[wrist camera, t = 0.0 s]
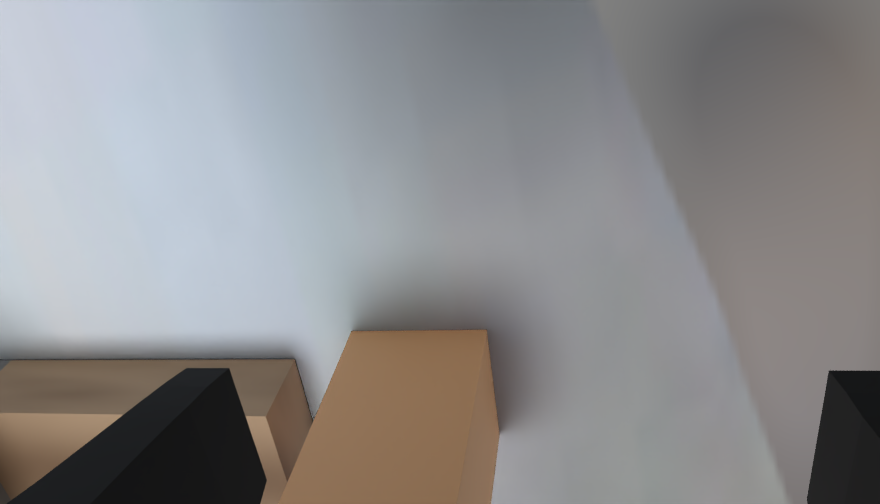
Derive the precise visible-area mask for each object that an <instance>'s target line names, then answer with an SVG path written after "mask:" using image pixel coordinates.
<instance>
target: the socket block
mask: <svg viewBox="0 0 880 504" xmlns="http://www.w3.org/2000/svg"><path fill="white" fill-rule="evenodd" d="M186 368H229V369H230V372H231V375H232V378H233V381H234V384H235V387H236V390H237V393H238V396H239V399H240V402H241V404H242V407H243V410H244V413H245V416H246V419H247V422H248V425H249V428H250V431H251V434H252V437H253V440H254V443H255V446H256V449H257V452H258V455H259V458H260V461H261V464H262V467H263V470H264V473H265V476H266V479H267V482H266V485H265V489H264V492H263V496H262V500H261V503H260V504H278V503H279V501H280V499H281V496H282V494H283V491H284V489H285V487H286V484H287V482H288V480H289V477H290V475H291V473H292V470H293V468H294V466H295V463H296V461H297V459H298V456H299V454H300V451H301V449H302V447H303V444H304V442H305V440H306V437H307V435H308V433H309V430H310V428H311V426H312V423H313V421H312V418H311V414H310V411H309V408H308V404H307V401H306V397H305V394H304V390H303V387H302V383H301V380H300V376H299V373H298V369H297V366H296V362H295V359H220V360H0V504H7V503H8V502H9V501H11V500H12V499H14V498H15V497H16V496H18V495H19V494H20V493H22V492H23V491H25V490H26V489H27V488H29V487H30V486H32V485H33V484H34V483H36V482H37V481H38V480H40V479H41V478H42V477H44V476H45V475H46V474H47V473H49V472H50V471H51V470H53V469H54V468H55V467H56V466H58V465H59V464H60V463H62V462H63V461H64V460H66V459H67V458H68V457H69V456H71V455H72V454H73V453H75V452H76V451H77V450H79V449H80V448H81V447H82V446H84V445H85V444H86V443H88V442H89V441H90V440H91V439H93V438H94V437H95V436H97V435H98V434H99V433H101V432H102V431H103V430H104V429H106V428H107V427H108V426H110V425H111V424H112V423H113V422H115V421H116V420H117V419H118V418H120V417H121V416H122V415H124V414H125V413H126V412H127V411H129V410H130V409H131V408H133V407H134V406H135V405H136V404H138V403H139V402H140V401H142V400H143V399H144V398H146V397H147V396H148V395H150V394H151V393H152V392H154V391H155V390H156V389H158V388H159V387H160V386H162V385H163V384H164V383H166V382H167V381H168V380H170V379H171V378H173V377H174V376H176V375H177V374H178V373H180V372H181V371H183V370H184V369H186Z"/></svg>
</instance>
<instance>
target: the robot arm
mask: <svg viewBox="0 0 880 504" xmlns="http://www.w3.org/2000/svg"><path fill="white" fill-rule="evenodd" d="M266 482H267V479H266V476H265V473H264V470H263V467H262V464H261V461H260V458H259V455H258V452H257V449H256V446H255V443H254V440H253V437H252V434H251V431H250V428H249V425H248V422H247V419H246V416H245V413H244V410H243V407H242V404H241V402H240V399H239V396H238V393H237V390H236V387H235V384H234V381H233V378H232V375H231V372H230V369H229V368H186V369H184V370H183V371H181V372H180V373H178V374H177V375H176V376H174V377H173V378H171V379H170V380H168V381H167V382H166V383H164V384H163V385H162V386H160V387H159V388H158V389H156V390H155V391H154V392H152V393H151V394H150V395H148V396H147V397H146V398H144V399H143V400H142V401H140V402H139V403H138V404H136V405H135V406H134V407H133V408H131V409H130V410H129V411H127V412H126V413H125V414H124V415H122V416H121V417H120V418H118V419H117V420H116V421H115V422H113V423H112V424H111V425H110V426H108V427H107V428H106V429H104V430H103V431H102V432H101V433H99V434H98V435H97V436H95V437H94V438H93V439H91V440H90V441H89V442H88V443H86V444H85V445H84V446H82V447H81V448H80V449H79V450H77V451H76V452H75V453H73V454H72V455H71V456H69V457H68V458H67V459H66V460H64V461H63V462H62V463H60V464H59V465H58V466H56V467H55V468H54V469H53V470H51V471H50V472H49V473H47V474H46V475H45V476H44V477H42V478H41V479H40V480H38V481H37V482H36V483H34V484H33V485H32V486H30V487H29V488H27V489H26V490H25V491H23V492H22V493H20V494H19V495H18V496H16V497H15V498H14V499H12V500H11V501H9V502H8V503H7V504H260V503H261V500H262V496H263V492H264V489H265V485H266ZM807 502H808V504H880V371H829V374H828V380H827V386H826V391H825V397H824V403H823V410H822V415H821V421H820V426H819V432H818V438H817V444H816V449H815V455H814V461H813V467H812V473H811V479H810V484H809V490H808V496H807Z"/></svg>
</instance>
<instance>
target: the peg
mask: <svg viewBox="0 0 880 504" xmlns="http://www.w3.org/2000/svg"><path fill="white" fill-rule="evenodd" d="M498 442H499V426H498V418H497V409H496V401H495V393H494V385H493V377H492V369H491V361H490V352H489V344H488V336H487V330H410V331H351V334H350V336H349V338H348V341H347V343H346V345H345V348H344V350H343V352H342V355H341V357H340V360H339V362H338V364H337V367H336V369H335V371H334V374H333V376H332V378H331V381H330V383H329V385H328V388H327V390H326V393H325V395H324V397H323V400H322V402H321V404H320V407H319V409H318V411H317V414H316V416H315V418H314V421H313V423H312V426H311V428H310V430H309V433H308V435H307V437H306V440H305V442H304V444H303V447H302V449H301V451H300V454H299V456H298V459H297V461H296V463H295V466H294V468H293V470H292V473H291V475H290V477H289V480H288V482H287V484H286V487H285V489H284V491H283V494H282V496H281V499H280V501H279V503H278V504H491V498H492V490H493V482H494V474H495V466H496V458H497V450H498Z"/></svg>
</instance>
